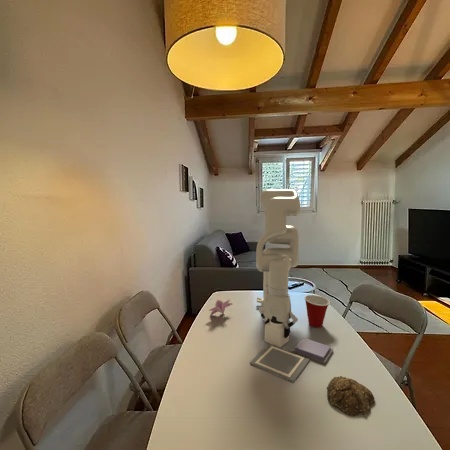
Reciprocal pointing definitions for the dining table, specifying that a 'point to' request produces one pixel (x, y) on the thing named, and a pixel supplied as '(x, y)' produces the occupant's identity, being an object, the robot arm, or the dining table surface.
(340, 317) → the dining table surface
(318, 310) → the plastic cup
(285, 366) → the marked mat
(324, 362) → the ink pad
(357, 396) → the bread roll
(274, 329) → the medicine bottle
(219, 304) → the lily
